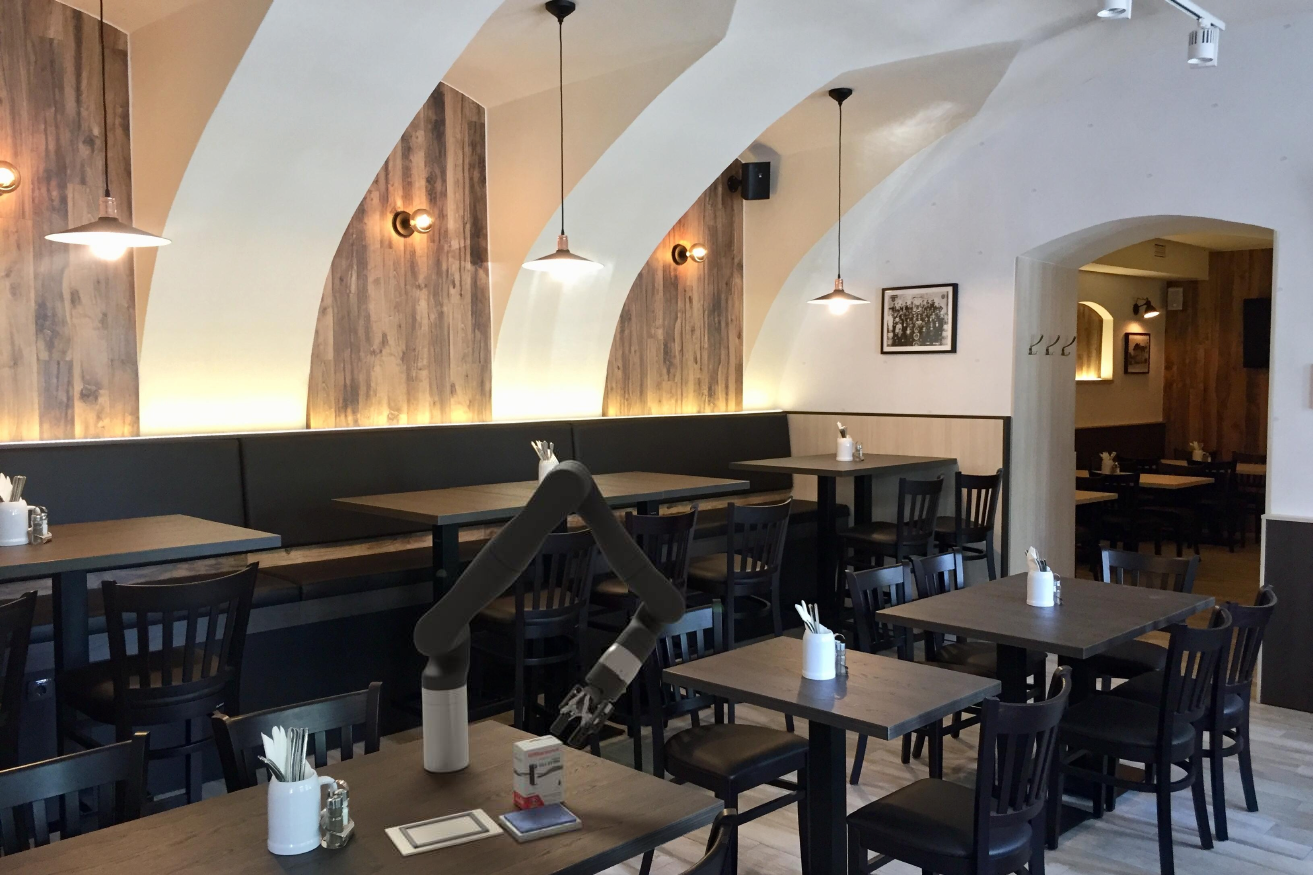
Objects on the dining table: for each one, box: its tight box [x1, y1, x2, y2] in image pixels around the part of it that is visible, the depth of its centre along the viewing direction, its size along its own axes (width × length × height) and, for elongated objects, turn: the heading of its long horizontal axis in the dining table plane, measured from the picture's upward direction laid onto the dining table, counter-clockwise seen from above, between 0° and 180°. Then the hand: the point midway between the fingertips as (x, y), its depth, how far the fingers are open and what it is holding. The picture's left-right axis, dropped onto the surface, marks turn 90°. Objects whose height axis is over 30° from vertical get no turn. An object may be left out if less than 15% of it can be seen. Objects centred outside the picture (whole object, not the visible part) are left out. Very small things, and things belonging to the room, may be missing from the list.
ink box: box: [513, 734, 565, 810], centre depth 203 cm, size 8×5×12 cm, turn 123°
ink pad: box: [498, 802, 583, 843], centre depth 193 cm, size 10×12×2 cm
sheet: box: [384, 808, 505, 857], centre depth 190 cm, size 12×18×1 cm, turn 119°
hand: (562, 739), depth 205 cm, fingers open, 8 cm apart
